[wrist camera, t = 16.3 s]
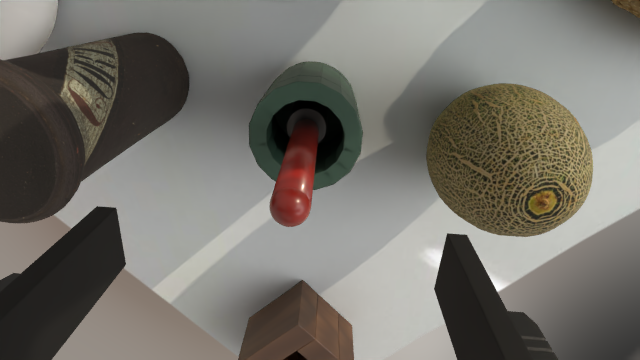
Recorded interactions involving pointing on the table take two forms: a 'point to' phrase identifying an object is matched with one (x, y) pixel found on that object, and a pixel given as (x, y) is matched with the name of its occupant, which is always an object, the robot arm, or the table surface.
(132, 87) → the container
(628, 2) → the sponge
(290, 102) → the green hollow cylinder
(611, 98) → the table surface
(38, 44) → the sculpture
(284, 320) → the holder
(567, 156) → the fruit
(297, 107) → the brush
